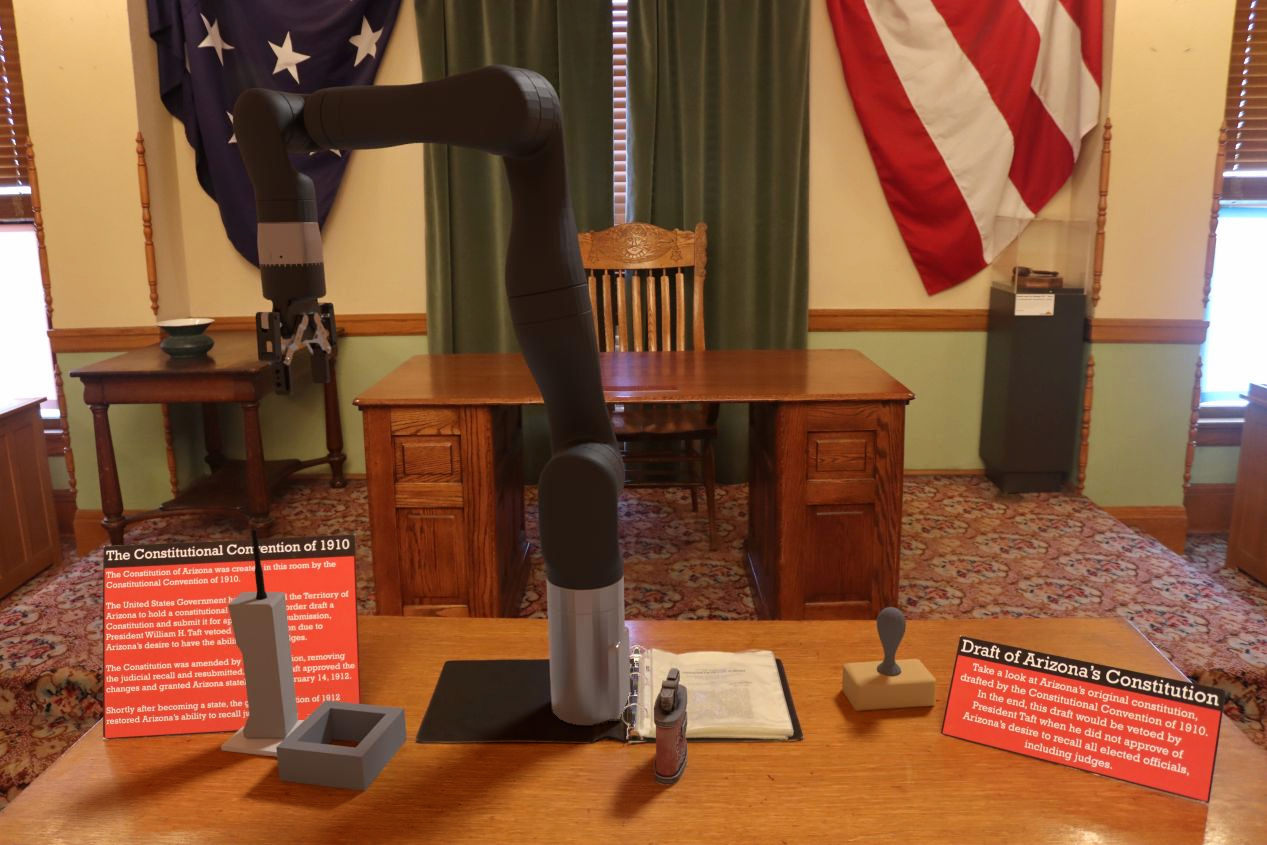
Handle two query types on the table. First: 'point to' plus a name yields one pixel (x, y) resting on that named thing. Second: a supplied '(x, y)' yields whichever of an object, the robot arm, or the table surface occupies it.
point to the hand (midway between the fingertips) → (303, 388)
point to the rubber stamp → (889, 673)
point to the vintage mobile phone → (265, 657)
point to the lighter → (671, 730)
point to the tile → (254, 743)
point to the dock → (339, 765)
